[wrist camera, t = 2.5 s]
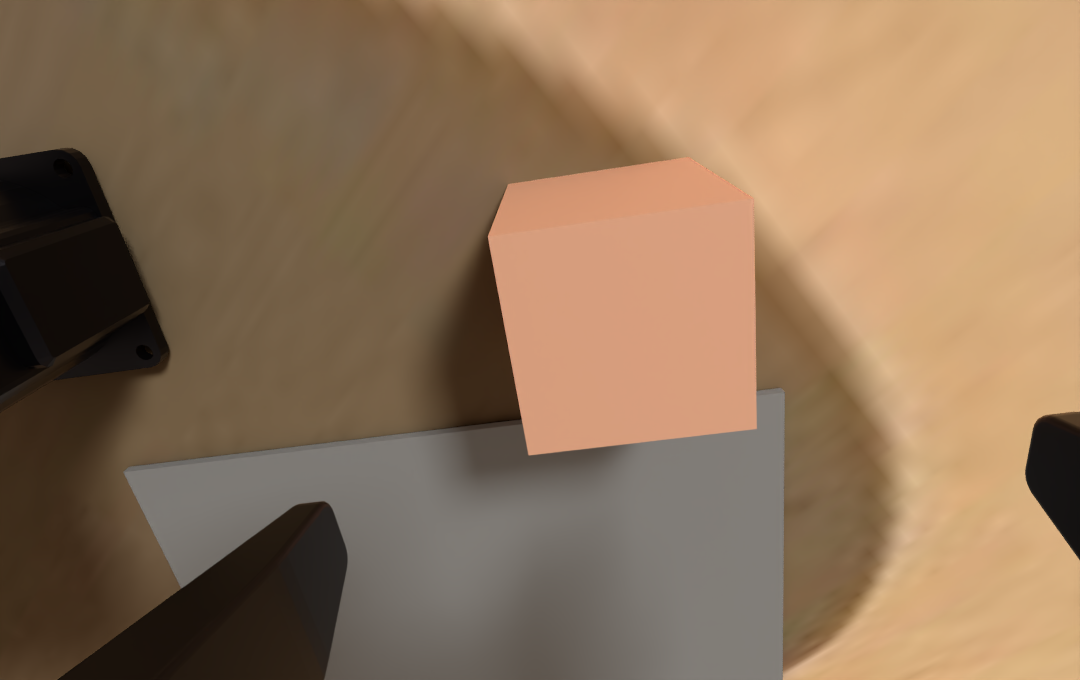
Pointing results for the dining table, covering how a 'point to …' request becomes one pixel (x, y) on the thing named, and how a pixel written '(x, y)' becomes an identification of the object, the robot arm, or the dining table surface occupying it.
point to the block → (628, 305)
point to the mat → (517, 549)
